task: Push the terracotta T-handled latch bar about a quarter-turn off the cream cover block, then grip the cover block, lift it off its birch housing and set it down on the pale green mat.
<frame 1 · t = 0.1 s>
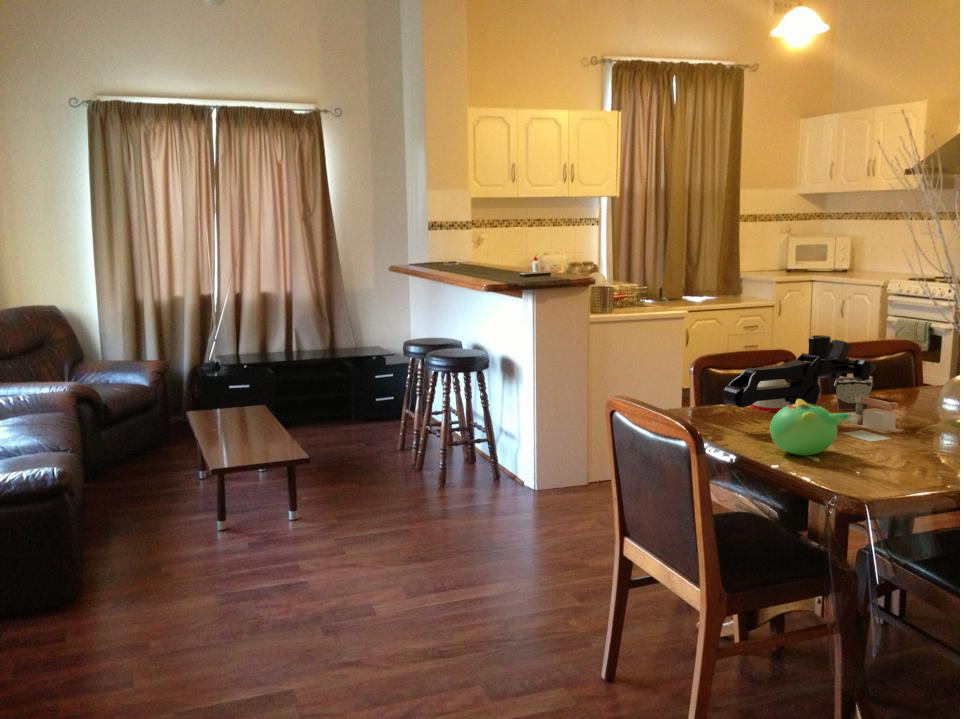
hand: (865, 364, 285), 17 cm above the table, tool horizontal, fingers open, 9 cm apart
latch bar: (874, 402, 270), point 8 cm above the table, hinge at 0.0°
toy bird: (803, 454, 243), on the table
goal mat: (865, 437, 260), on the table
kitchen timer: (772, 408, 300), on the table
lidded jar: (855, 398, 314), on the table
food container: (849, 408, 299), on the table
cover block: (878, 427, 270), resting on housing
housing: (878, 428, 270), on the table
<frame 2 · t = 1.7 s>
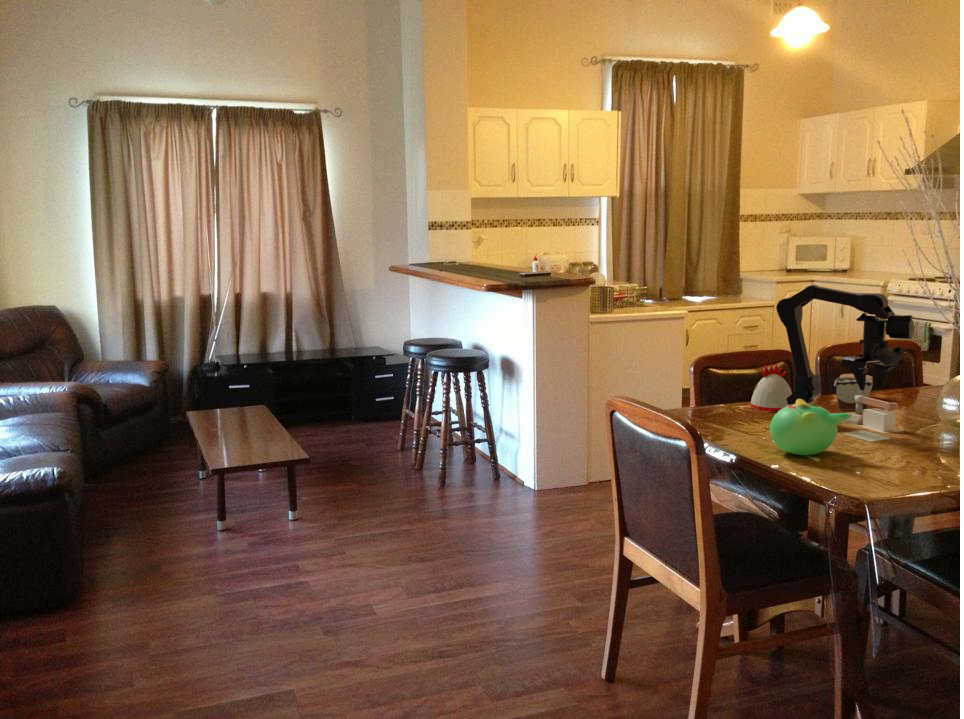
hand: (871, 389, 264), 13 cm above the table, tool pointing down, fingers open, 6 cm apart
nothing on the table moved.
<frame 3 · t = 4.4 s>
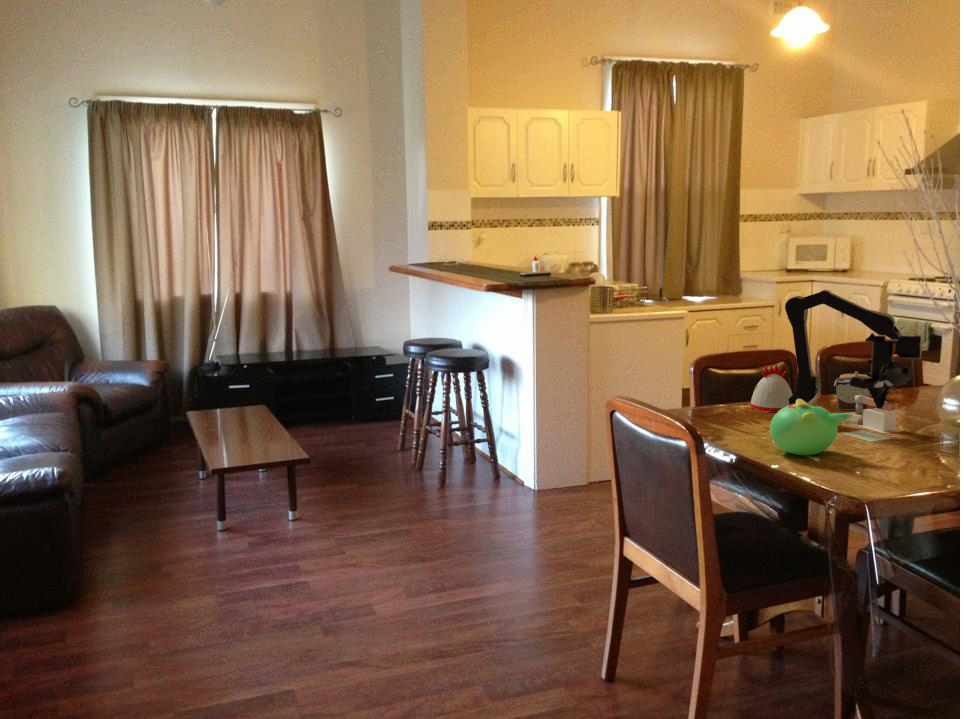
hand: (879, 408, 266), 7 cm above the table, tool pointing down, fingers closed
latch bar: (874, 402, 270), point 8 cm above the table, hinge at 0.0°, touching gripper
everything else where it was.
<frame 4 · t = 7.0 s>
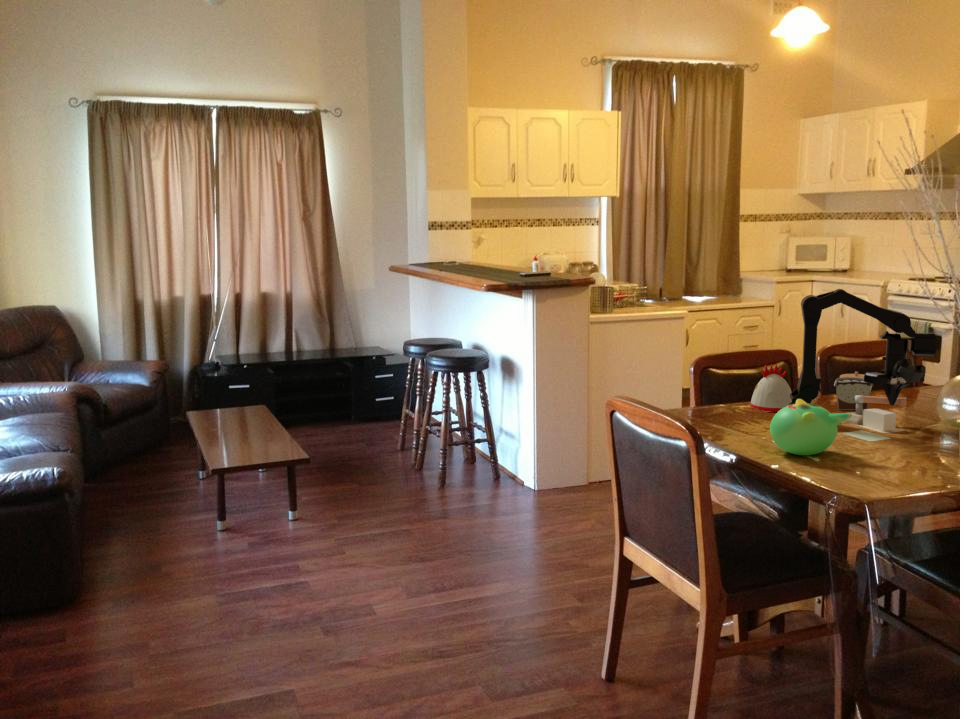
hand: (892, 405, 270), 7 cm above the table, tool pointing down, fingers closed
latch bar: (880, 400, 274), point 8 cm above the table, hinge at 44.9°, touching gripper
everything else where it was.
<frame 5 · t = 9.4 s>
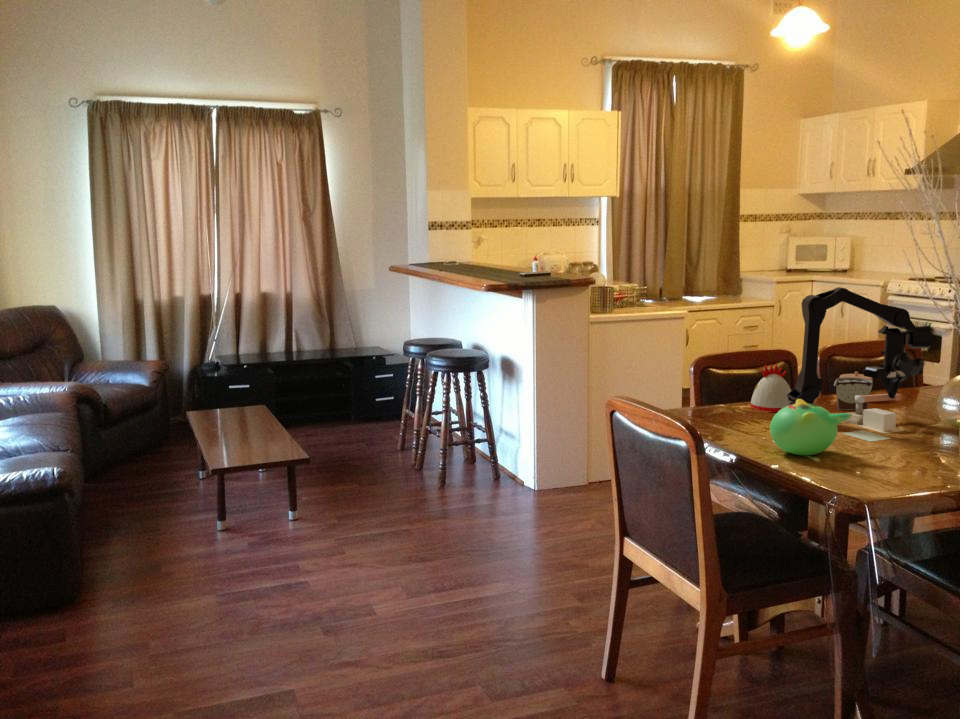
hand: (891, 398, 276), 8 cm above the table, tool pointing down, fingers closed
latch bar: (876, 397, 277), point 8 cm above the table, hinge at 81.7°
everything else where it was.
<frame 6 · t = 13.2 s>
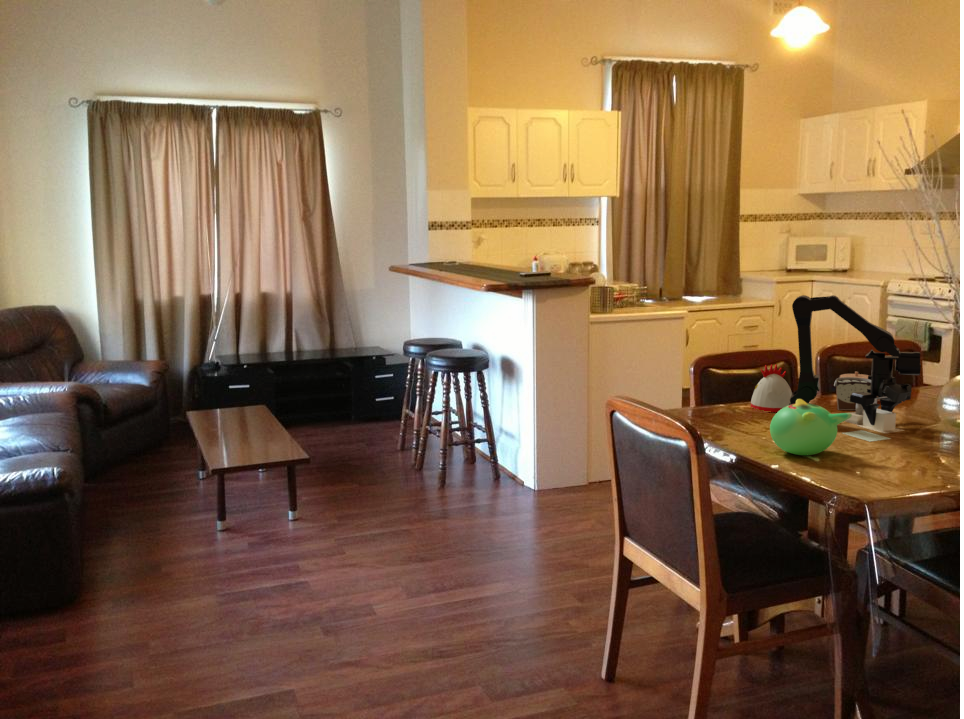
hand: (878, 424, 269), 1 cm above the table, tool pointing down, fingers closed on cover block, 5 cm apart
cover block: (878, 427, 270), resting on housing, touching gripper
everything else where it was.
when the fingers open (3 cm above the table, at t = 17.5 s): cover block drops 1 cm, resting on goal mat.
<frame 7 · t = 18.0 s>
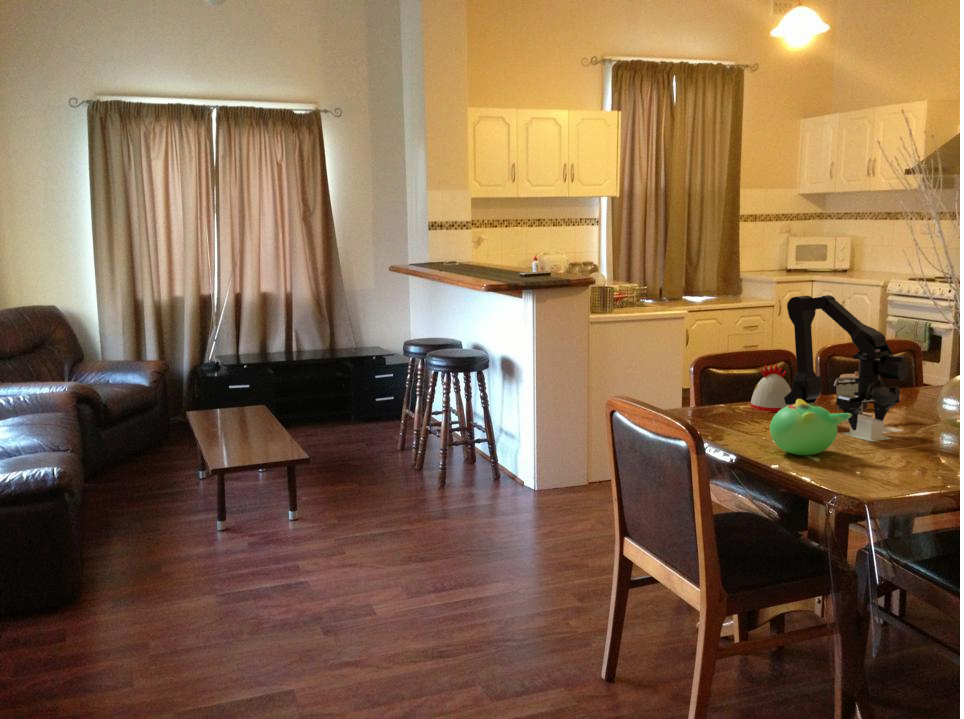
hand: (866, 428, 260), 3 cm above the table, tool pointing down, fingers open, 9 cm apart
cover block: (866, 435, 260), resting on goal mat
everything else where it was.
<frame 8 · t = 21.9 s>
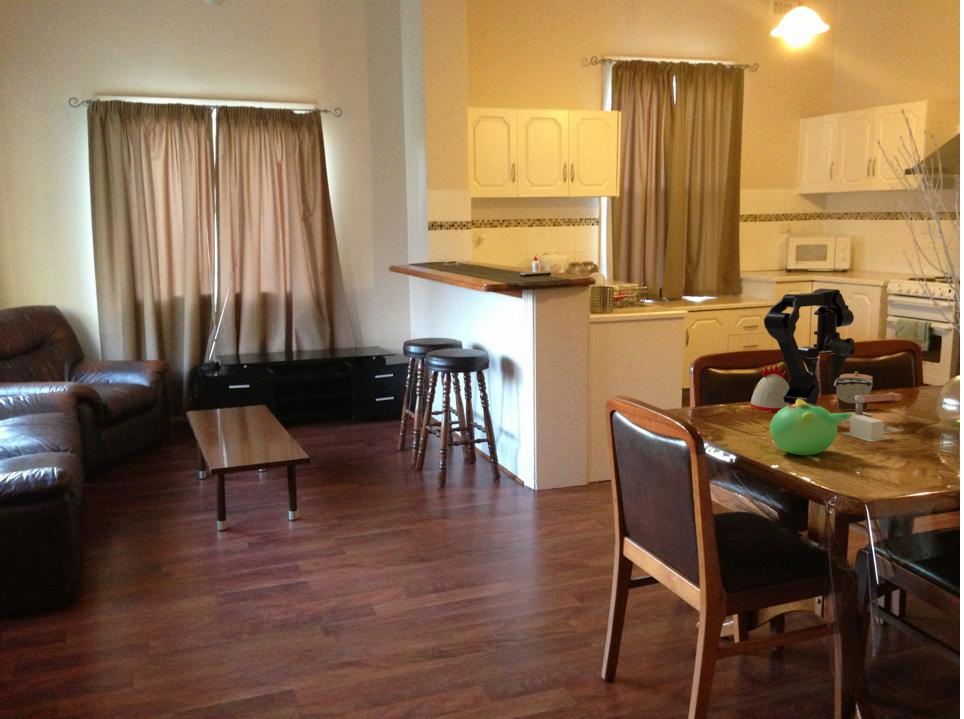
hand: (824, 377, 284), 13 cm above the table, tool pointing down, fingers open, 9 cm apart
nothing on the table moved.
at the end: latch bar at +82° (first picture: +0°); cover block 0.0 cm off-centre on the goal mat, point 0.4 cm above the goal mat's base; cover block tilted 0° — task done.
